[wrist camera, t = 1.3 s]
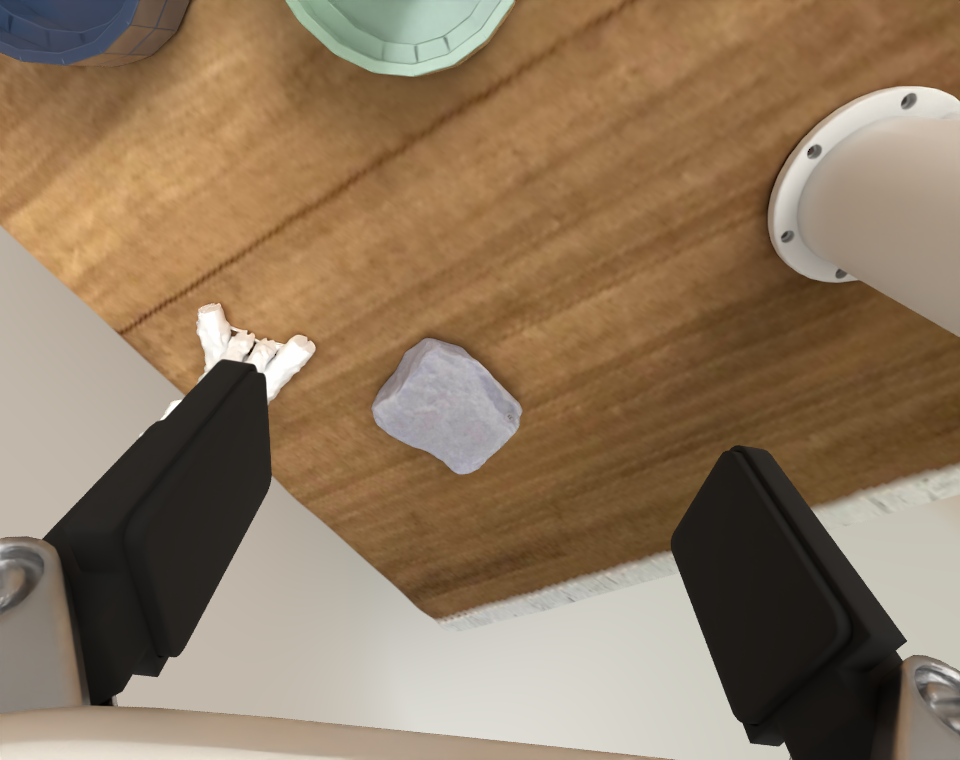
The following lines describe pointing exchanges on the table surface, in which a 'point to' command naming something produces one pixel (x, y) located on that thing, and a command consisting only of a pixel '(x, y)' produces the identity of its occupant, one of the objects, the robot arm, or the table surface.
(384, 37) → the bowl
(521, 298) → the table surface
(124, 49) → the bowl
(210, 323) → the white creature statuette
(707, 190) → the table surface
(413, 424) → the stone block
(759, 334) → the table surface
